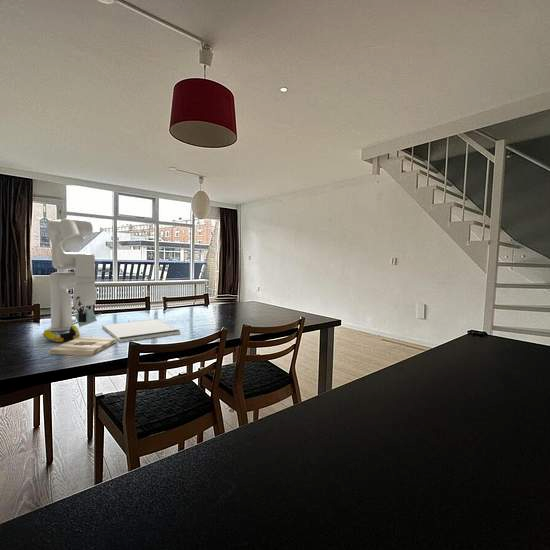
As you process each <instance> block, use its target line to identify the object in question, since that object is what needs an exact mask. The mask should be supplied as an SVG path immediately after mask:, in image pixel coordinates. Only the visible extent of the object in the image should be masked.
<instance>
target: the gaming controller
mask: <svg viewBox="0 0 550 550" xmlns="http://www.w3.org/2000/svg"><path fill="white" fill-rule="evenodd" d="M42 335H43V337H44V338H45V339H47V340H49V341H51V342H53V343H55V342H56V343H61V342H62V343H64V342H69V341H71V340H74V339H76V338H79V337H81V336H80V335H81V334H80V330H79V328H78V327H77V326H76V325H75V326H71V328H70V330H68V332H64V333H60V334H55V333H53V331H49V330H48V329H44V331H43V333H42Z"/></svg>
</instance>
